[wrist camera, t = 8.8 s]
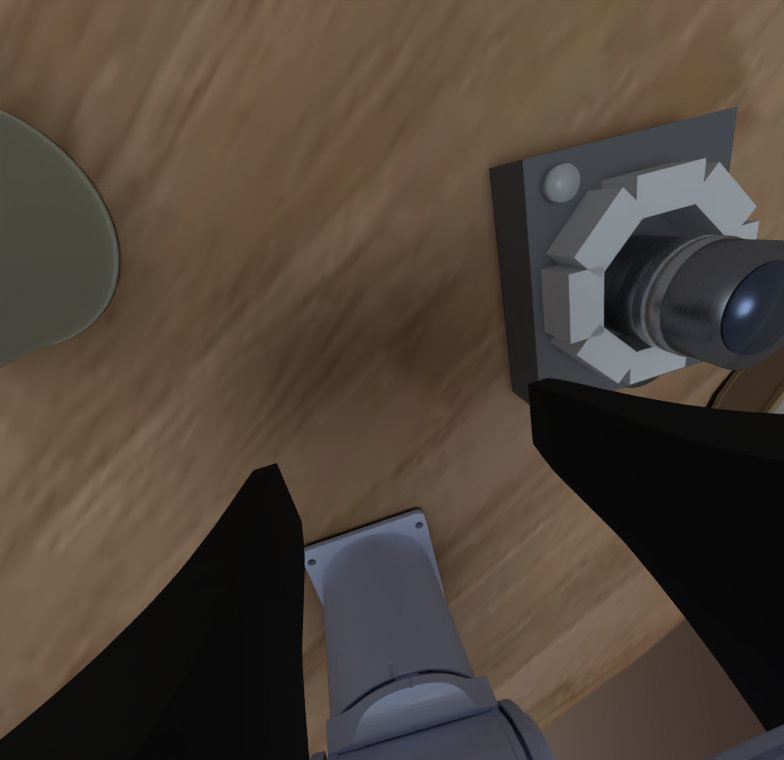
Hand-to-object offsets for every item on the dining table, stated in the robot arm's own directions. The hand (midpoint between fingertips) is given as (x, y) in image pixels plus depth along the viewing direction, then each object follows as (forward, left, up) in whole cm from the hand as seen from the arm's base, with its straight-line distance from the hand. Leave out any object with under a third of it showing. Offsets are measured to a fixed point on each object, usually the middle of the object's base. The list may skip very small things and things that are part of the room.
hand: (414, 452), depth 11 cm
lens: (0, -13, -7) cm, 15 cm away
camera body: (0, -13, -10) cm, 17 cm away
